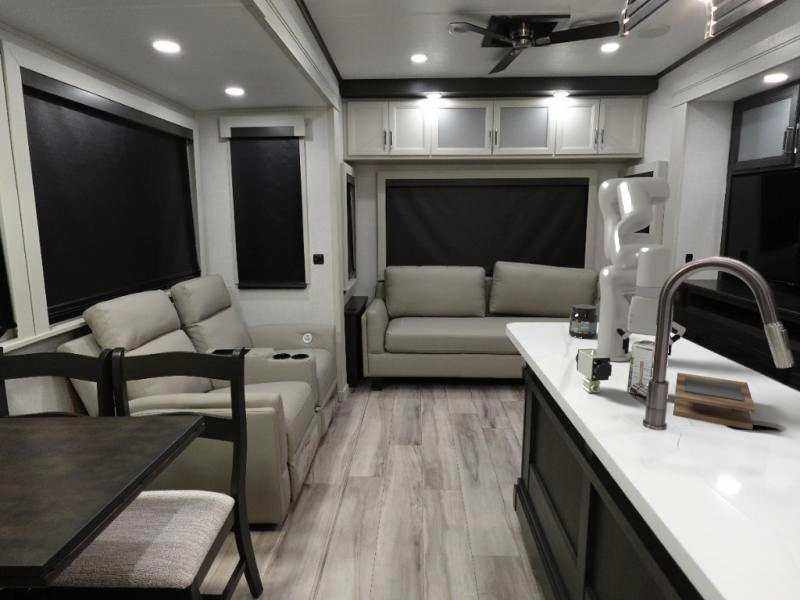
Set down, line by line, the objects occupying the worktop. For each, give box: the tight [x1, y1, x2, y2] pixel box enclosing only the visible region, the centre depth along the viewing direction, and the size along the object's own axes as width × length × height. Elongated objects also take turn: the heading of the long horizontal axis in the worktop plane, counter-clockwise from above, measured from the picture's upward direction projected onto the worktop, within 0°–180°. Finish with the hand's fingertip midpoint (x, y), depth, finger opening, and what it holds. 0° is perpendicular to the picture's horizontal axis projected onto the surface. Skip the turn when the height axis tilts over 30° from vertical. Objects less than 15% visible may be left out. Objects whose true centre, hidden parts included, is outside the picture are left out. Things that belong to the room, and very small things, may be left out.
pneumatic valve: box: [575, 348, 613, 394], centre depth 134 cm, size 6×12×12 cm, turn 7°
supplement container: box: [568, 303, 599, 339], centre depth 193 cm, size 10×10×12 cm
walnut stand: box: [672, 371, 756, 431], centre depth 123 cm, size 20×16×5 cm
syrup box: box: [626, 339, 656, 393], centre depth 132 cm, size 6×6×14 cm
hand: (645, 355), depth 131 cm, fingers open, 9 cm apart
